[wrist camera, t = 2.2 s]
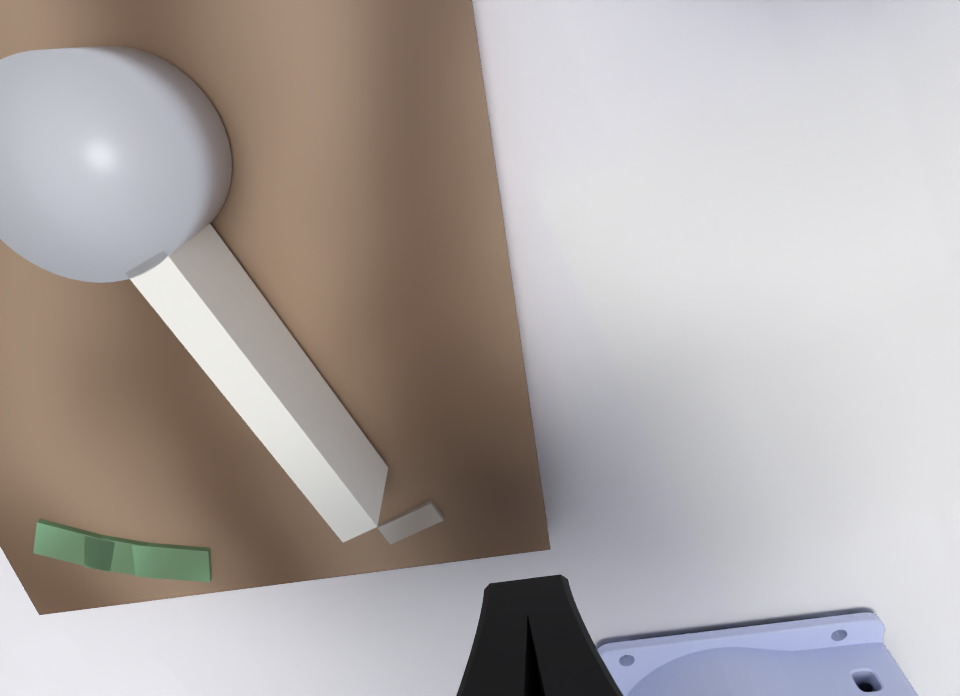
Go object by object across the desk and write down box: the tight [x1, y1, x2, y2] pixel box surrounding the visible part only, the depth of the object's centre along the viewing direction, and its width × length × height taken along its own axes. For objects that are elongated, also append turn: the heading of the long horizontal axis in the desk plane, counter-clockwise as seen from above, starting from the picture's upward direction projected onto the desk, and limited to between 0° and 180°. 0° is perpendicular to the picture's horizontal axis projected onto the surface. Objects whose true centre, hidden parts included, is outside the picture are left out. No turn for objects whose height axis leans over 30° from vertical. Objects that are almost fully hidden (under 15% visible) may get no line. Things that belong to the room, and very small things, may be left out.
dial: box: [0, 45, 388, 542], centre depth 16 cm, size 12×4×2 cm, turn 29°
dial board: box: [0, 0, 550, 615], centre depth 18 cm, size 16×18×1 cm
